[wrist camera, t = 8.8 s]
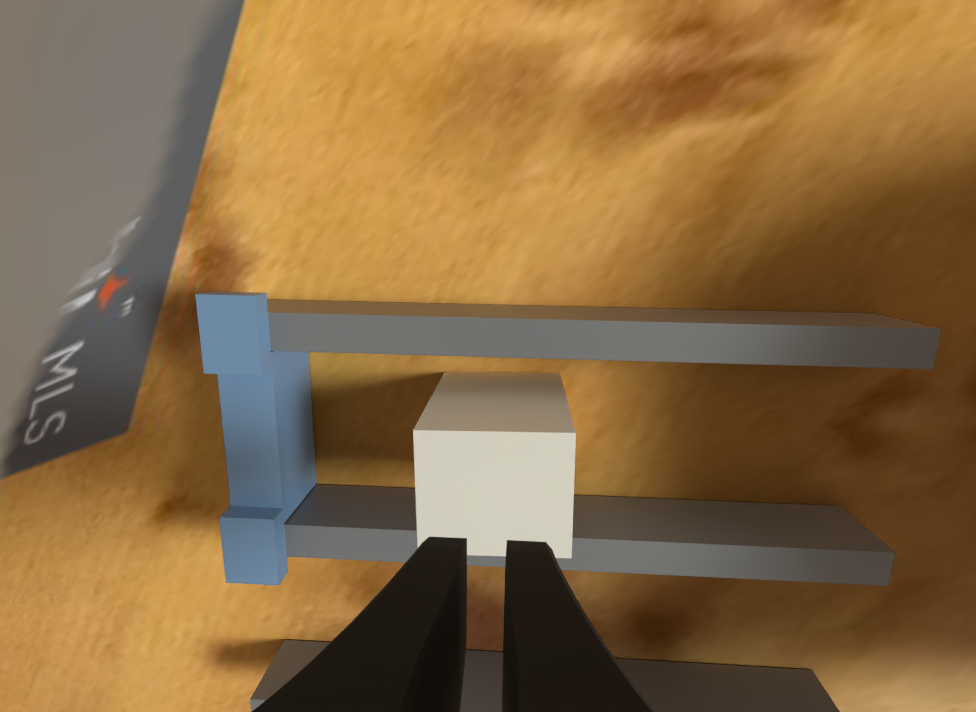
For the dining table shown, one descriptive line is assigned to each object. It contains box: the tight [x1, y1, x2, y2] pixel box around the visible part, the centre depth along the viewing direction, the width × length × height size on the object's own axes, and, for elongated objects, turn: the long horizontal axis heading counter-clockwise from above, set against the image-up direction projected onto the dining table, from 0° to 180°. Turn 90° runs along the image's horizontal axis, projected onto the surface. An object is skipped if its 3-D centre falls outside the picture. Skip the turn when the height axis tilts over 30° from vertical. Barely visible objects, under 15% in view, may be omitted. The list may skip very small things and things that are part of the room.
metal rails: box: [195, 292, 941, 712], centre depth 16 cm, size 18×14×3 cm
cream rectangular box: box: [413, 372, 576, 558], centre depth 14 cm, size 4×3×5 cm
